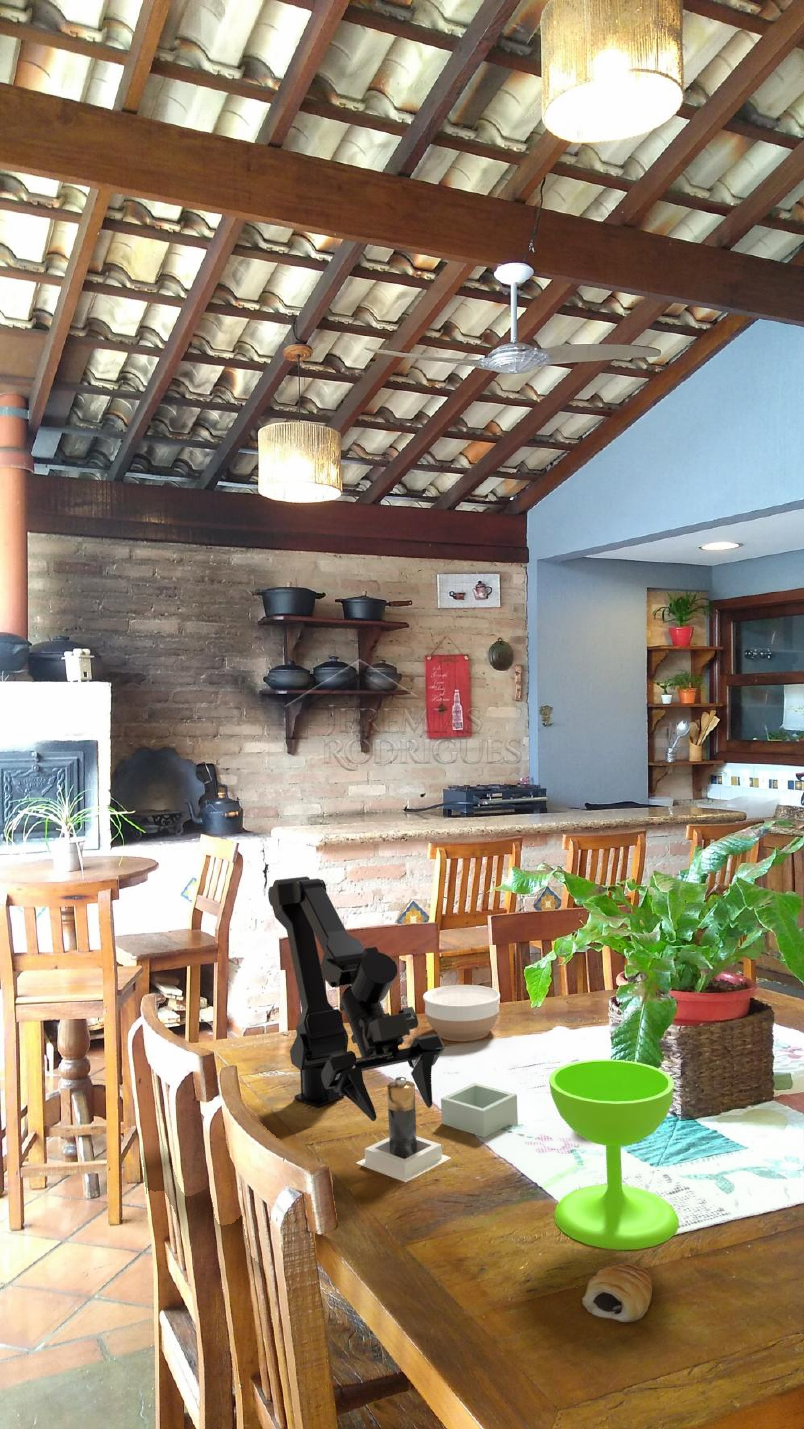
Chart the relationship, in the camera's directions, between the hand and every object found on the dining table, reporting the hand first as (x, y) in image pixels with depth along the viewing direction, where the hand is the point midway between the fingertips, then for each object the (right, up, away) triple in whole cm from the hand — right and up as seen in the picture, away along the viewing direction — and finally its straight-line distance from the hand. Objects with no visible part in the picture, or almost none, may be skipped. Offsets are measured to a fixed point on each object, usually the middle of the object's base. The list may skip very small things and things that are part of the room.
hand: (403, 1113), depth 152 cm
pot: (+12, -8, +14) cm, 20 cm away
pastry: (+24, -8, -36) cm, 44 cm away
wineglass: (+28, -7, -17) cm, 33 cm away
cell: (0, -7, 0) cm, 7 cm away
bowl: (+12, -8, +62) cm, 64 cm away
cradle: (0, -8, 0) cm, 8 cm away
